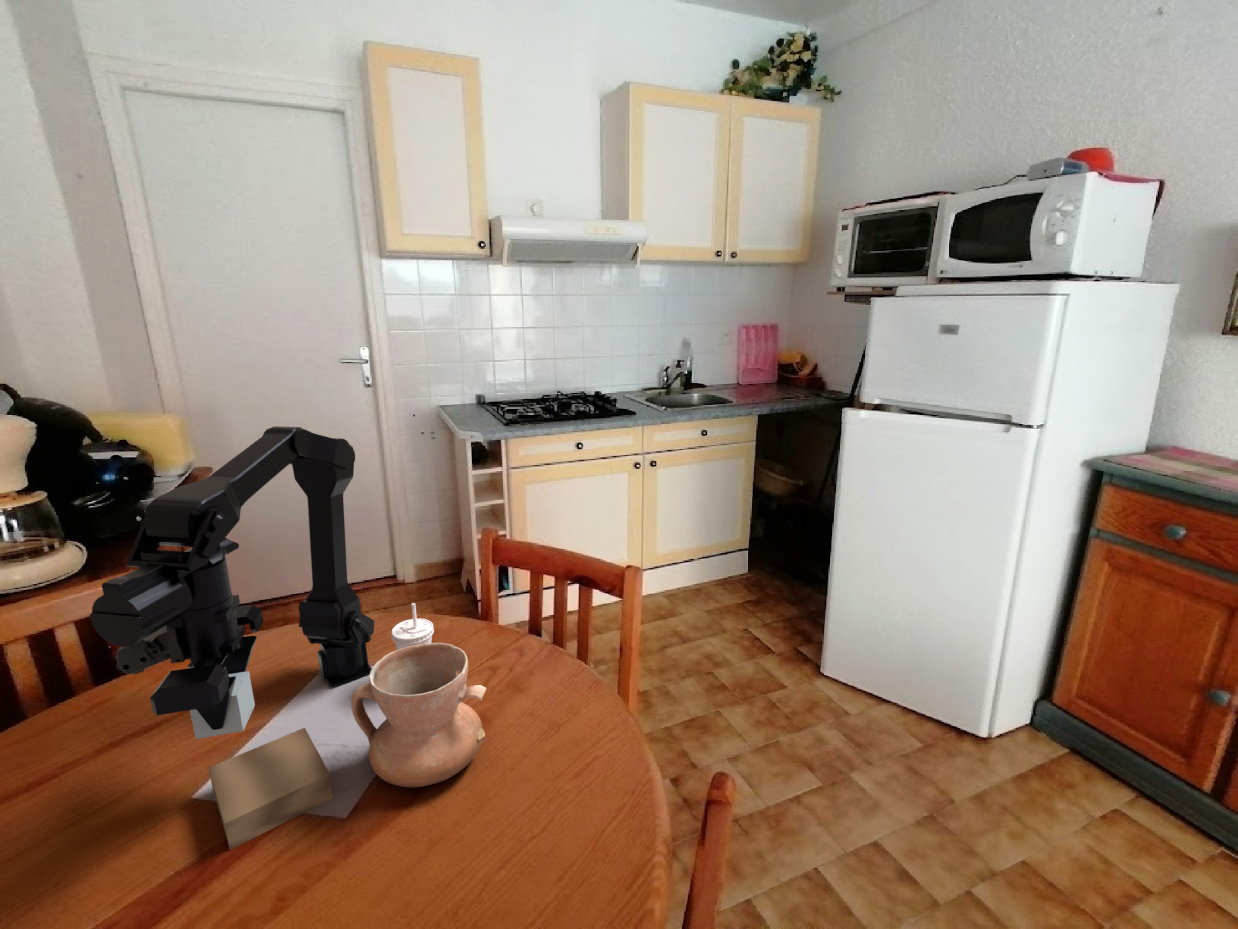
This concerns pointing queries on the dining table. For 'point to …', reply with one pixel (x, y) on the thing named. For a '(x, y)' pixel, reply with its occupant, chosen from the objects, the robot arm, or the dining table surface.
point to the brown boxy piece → (269, 786)
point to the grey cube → (229, 710)
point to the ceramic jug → (420, 715)
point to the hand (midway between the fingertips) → (225, 714)
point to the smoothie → (412, 631)
